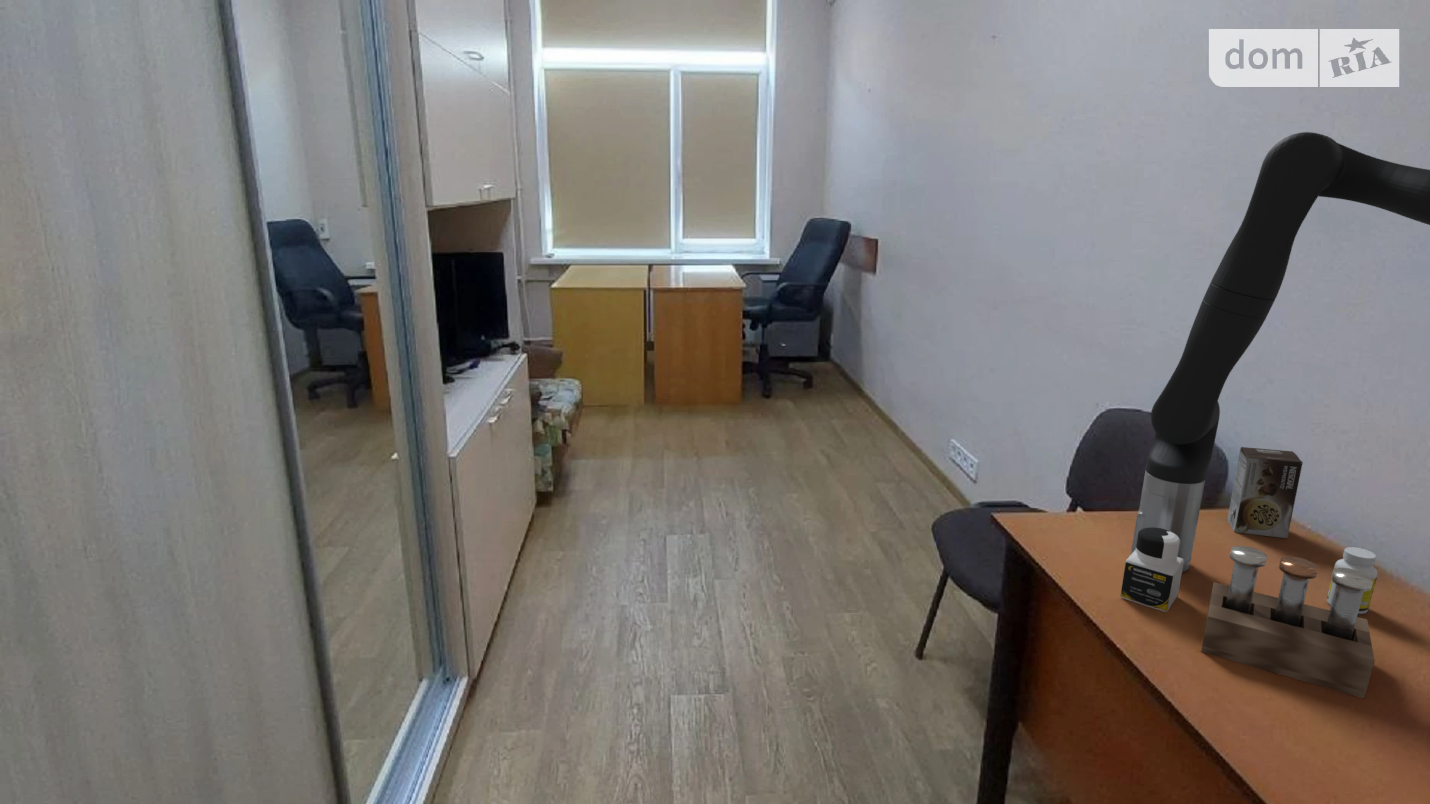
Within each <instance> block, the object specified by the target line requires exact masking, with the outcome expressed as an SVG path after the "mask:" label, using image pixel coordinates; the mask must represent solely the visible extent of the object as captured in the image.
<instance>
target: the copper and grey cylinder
mask: <svg viewBox="0 0 1430 804" xmlns="http://www.w3.org/2000/svg"><path fill="white" fill-rule="evenodd" d="M1278 568H1279V571H1281V572H1282V573H1283V575H1282V580H1281V582H1280V583H1281V584H1280V588H1279V593H1278V596H1277V598H1278V601H1277V606H1276V610H1275V615H1274V619H1273V621H1277V622H1281V623H1285V624H1289V625H1292V626H1296V627H1299V622H1300V618H1301V614H1302V609H1303V605H1304V604H1305V600H1306V595H1307V592H1308V588H1309V584H1310V583H1309V582H1310V580H1311V579H1312V580H1313V579H1316V578H1317V577H1318V572H1319V566H1318V564H1316V563H1314V562H1313V561H1310V560H1309V559H1305V558H1301V557H1299V556H1298V557H1297V556H1283V557H1281V558H1280V560H1279V564H1278Z"/></svg>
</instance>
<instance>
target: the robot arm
mask: <svg viewBox="0 0 1430 804" xmlns="http://www.w3.org/2000/svg"><path fill="white" fill-rule="evenodd" d="M1318 197H1322V198H1330V199H1336V200H1337V199H1339V200H1345V201H1350V202H1356V203H1359V204H1364V205H1368V206H1372V207H1375V208H1378V209H1382V210H1384V211H1388V212H1390V213H1394V214H1396V215H1399V216H1402V217H1405V218H1407V219H1411V220H1414V221H1416V222H1419V223H1421V224H1426V225H1429V226H1430V169H1426V168H1423V167H1422V168H1421V167H1417V166H1416V167H1415V166H1411V165H1410V166H1409V165H1405V164H1401V163H1397V162H1393V161H1388V160H1384V159H1380V158H1377V157H1375V156H1371V155H1368V154H1365V153H1363V152H1360V151H1357V150H1355V149H1353V148H1351V147H1349V146H1346V145H1343V144H1341V143H1338V142H1337V141H1336V140H1335V139H1333V138H1332V137H1329V136H1327V135H1324V134H1321V133H1317V132H1313V131H1304V132H1298V133H1294V134H1290V135H1288V136H1286V137H1284V138H1283V139H1281V140H1280V141H1278V142H1276V143H1275V144H1274V145H1273V146H1272V147H1271V148H1270V150H1269V151H1268V152H1267V153H1266V156H1264V159H1263V161H1262V164H1261V167H1260V170H1259V174H1258V177H1257V180H1256V183H1255V186H1254V189H1253V193H1252V195H1251V199H1250V201H1249V203H1248V206H1247V209H1246V212H1245V215H1244V217H1243V220H1242V222H1241V224H1240V226H1239V228H1238V230H1237V232H1236V233H1235V235H1234V236H1233V238H1232V240H1231V241H1230V243H1229V246H1228V247H1227V249H1226V252H1225V253H1224V255H1223V257H1222V259H1221V261H1220V263H1219V265H1218V266H1217V269H1216V270H1215V273H1214V275H1213V276H1212V279H1211V280H1210V283H1209V284H1208V288H1207V289H1206V291H1205V294H1204V296H1203V298H1202V299H1201V300H1202V301H1201V303H1200V305H1199V308H1198V311H1197V314H1196V316H1195V318H1194V321H1193V323H1192V326H1191V327H1190V328H1191V329H1190V331H1189V334H1188V337H1187V340H1186V342H1185V346H1184V350H1183V351H1182V355H1181V357H1180V359H1179V362H1178V363H1177V366H1176V367H1175V369H1174V371H1173V373H1172V375H1171V376H1170V379H1169V380H1168V382H1167V383H1166V385H1165V386H1164V388H1163V390H1161V391H1162V392H1161V393H1160V394H1159V396H1158V398H1157V400H1155V402H1154V404H1153V406H1152V408H1151V411H1150V423H1151V425H1152V428H1153V431H1154V432H1155V433H1154V438H1153V442H1152V445H1151V448H1150V451H1149V453H1148V455H1147V458H1146V466H1145V471H1144V472H1145V473H1144V478H1143V483H1142V484H1143V485H1142V490H1141V496H1140V503H1139V509H1138V511H1137V513H1136V518H1135V519H1136V520H1135V526H1134V532H1133V539H1132V545H1131V552H1130V555H1131V554H1132V553H1133V552H1134V551H1135V549H1136V544H1137V538H1138V532H1139V531H1140V530H1141V529H1143V528H1150V527H1155V528H1162V529H1165V530H1168V531H1170V532H1172V533H1174V534H1176V535H1177V536H1178V537H1179V539H1180V544H1179V550H1178V556H1177V557H1179V558H1182V559H1184V564H1183V569H1182V573H1185V572H1187V571H1188V570H1189V568H1190V565H1191V560H1192V554H1193V548H1194V544H1195V537H1196V533H1197V526H1198V523H1199V515H1200V511H1201V505H1202V500H1203V493H1204V487H1205V483H1206V478H1207V473H1208V469H1209V466H1210V463H1211V460H1212V455H1213V452H1214V451H1213V450H1214V447H1215V442H1216V437H1217V431H1218V427H1219V423H1220V422H1219V421H1220V415H1221V408H1220V404H1219V399H1220V396H1221V393H1222V391H1223V388H1224V385H1225V384H1226V381H1227V379H1228V378H1229V375H1230V373H1231V372H1232V370H1233V369H1234V367H1235V366H1236V364H1237V363H1238V362H1239V360H1240V359H1241V358H1242V357H1243V355H1244V354H1245V352H1246V351H1247V350H1248V348H1249V347H1250V346H1251V344H1252V342H1253V340H1254V339H1255V338H1256V336H1257V334H1258V333H1259V332H1260V330H1261V328H1262V326H1263V325H1264V322H1265V321H1266V319H1267V317H1268V315H1269V313H1270V311H1271V309H1272V307H1273V304H1274V303H1275V300H1276V298H1277V297H1278V294H1279V291H1280V289H1281V286H1282V284H1283V281H1284V279H1285V275H1286V272H1287V269H1288V264H1289V261H1290V258H1291V257H1290V256H1291V253H1292V249H1293V246H1294V243H1295V239H1296V237H1297V235H1298V232H1299V230H1300V227H1301V226H1302V224H1303V223H1304V220H1305V219H1306V217H1307V215H1308V214H1309V212H1310V211H1311V209H1312V206H1313V205H1314V203H1315V202H1316V200H1317V199H1318Z"/></svg>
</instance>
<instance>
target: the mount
mask: <svg viewBox="0 0 1430 804" xmlns="http://www.w3.org/2000/svg"><path fill="white" fill-rule="evenodd" d="M1229 587H1230V585H1227V584H1222V583H1217V582H1216V581H1215V582H1213V585H1212V590H1211V594H1210V599H1209V600H1210V601H1209V605H1208V609H1207V614H1206V615H1207V616H1206V621H1205V627H1204V632H1203V633H1204V634H1203V636H1202V637H1203V638H1202V644H1201V649H1200V652H1202V653H1205V654H1208V655H1212V656H1215V657H1219V658H1222V659H1226V660H1229V661H1232V662H1236V663H1239V664H1242V665H1247V666H1249V667H1254V668H1256V669H1260V670H1264V671H1267V672H1271V673H1275V674H1278V675H1281V676H1284V677H1289V678H1292V679H1295V680H1298V681H1303V682H1306V683H1309V684H1313V685H1317V686H1319V687H1323V688H1326V689H1329V690H1332V691H1337V692H1340V693H1344V694H1348V695H1350V696H1354V697H1358V698H1361V699H1365V697H1366V693H1367V690H1368V686H1369V682H1370V679H1371V676H1372V675H1371V674H1372V671H1373V667H1374V664H1375V655H1374V651H1373V650H1374V649H1373V645H1372V639H1371V638H1372V637H1371V635H1370V634H1371V633H1370V628H1369V623H1368V619H1366V618H1363V617H1358V616H1357V619H1356V623H1355V627H1354V631H1353V635H1352V638H1351V640H1347V639H1343V638H1339V637H1335V636H1331V635H1327V634H1324V632H1325V628H1326V624H1327V620H1328V616H1329V612H1330V609H1325V608H1321V607H1319V606H1318V607H1317V606H1314V605H1309V604H1305V603H1304V605H1303V609H1302V614H1301V618H1300V622H1299V627H1296V626H1292V625H1289V624H1285V623H1281V622H1277V621H1273V619H1274V615H1275V610H1276V606H1277V601H1278V596H1277V597H1276V596H1273V595H1268V594H1263V593H1260V592H1255V591H1254V592H1253V597H1252V602H1251V607H1250V611H1249V614H1246V613H1242V612H1238V611H1234V610H1230V609H1226V608H1225V607H1226V602H1227V597H1228V592H1229Z"/></svg>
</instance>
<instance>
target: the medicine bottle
mask: <svg viewBox="0 0 1430 804" xmlns="http://www.w3.org/2000/svg"><path fill="white" fill-rule="evenodd" d="M1179 544H1180V539H1179V537H1178V536H1177V535H1176V534H1174V533H1172V532H1170V531H1168V530H1165V529H1162V528H1155V527H1150V528H1143V529H1141V530H1140V531H1139V532H1138V538H1137V544H1136V549H1135V551H1134V552H1133V553H1132V554H1131V553H1130V555H1129V556H1128V558H1126V560H1125V564H1124V571H1123V577H1122V583H1121V589H1120V590H1121V591H1120V594H1119V595H1120V598H1121V599H1123V600H1127V601H1129V602H1132V603H1135V604H1138V605H1142V606H1145V607H1148V608H1151V609H1155V610H1158V611H1161V612H1163V613H1167V612H1168V611H1169V610H1170V608H1171V607H1172V605H1173V603H1174V602H1175V600H1176V599H1177V597H1178V595H1179V591H1180V586H1181V579H1182V573H1183V572H1182V569H1183V564H1184V559H1182V558H1179V557H1177V556H1178V550H1179Z"/></svg>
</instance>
